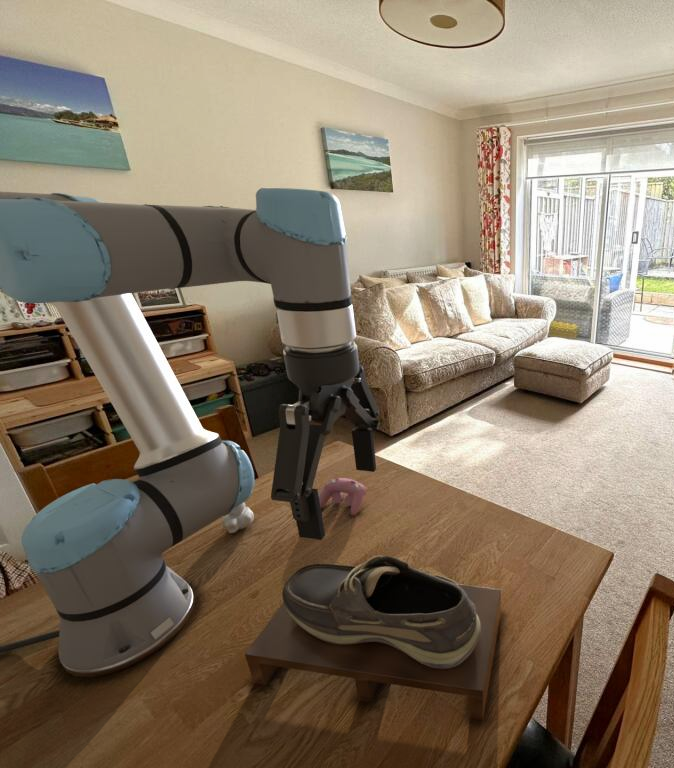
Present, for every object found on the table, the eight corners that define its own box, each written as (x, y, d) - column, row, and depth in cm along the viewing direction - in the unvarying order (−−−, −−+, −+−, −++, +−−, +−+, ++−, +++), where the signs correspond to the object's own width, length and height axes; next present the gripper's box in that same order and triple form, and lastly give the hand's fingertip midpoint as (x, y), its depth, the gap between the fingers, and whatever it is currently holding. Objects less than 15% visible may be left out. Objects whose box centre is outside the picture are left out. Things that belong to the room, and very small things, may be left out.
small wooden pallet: (254, 683, 55) (244, 654, 53) (316, 591, 69) (310, 565, 67) (482, 720, 52) (482, 690, 50) (500, 616, 66) (501, 589, 64)
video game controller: (365, 512, 90) (370, 481, 91) (353, 516, 86) (359, 483, 86) (327, 504, 92) (331, 474, 93) (313, 509, 88) (318, 476, 88)
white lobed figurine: (261, 516, 86) (253, 485, 83) (247, 538, 80) (238, 505, 77) (233, 518, 85) (224, 487, 82) (217, 541, 79) (207, 508, 76)
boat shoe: (318, 571, 66) (307, 518, 62) (491, 605, 61) (492, 550, 57) (268, 632, 56) (251, 574, 52) (470, 680, 51) (469, 619, 47)
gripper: (345, 316, 57) (360, 446, 65) (193, 380, 34) (246, 571, 42) (396, 320, 56) (405, 451, 64) (277, 388, 33) (314, 581, 41)
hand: (342, 499), depth 53 cm, fingers open, 13 cm apart
